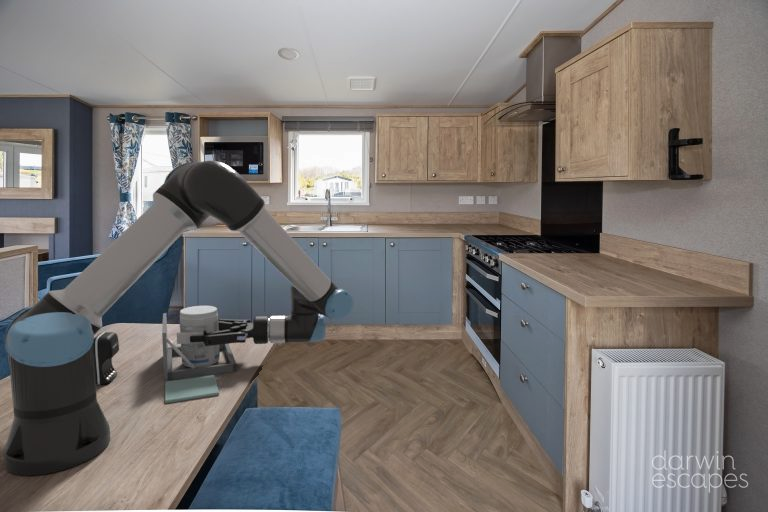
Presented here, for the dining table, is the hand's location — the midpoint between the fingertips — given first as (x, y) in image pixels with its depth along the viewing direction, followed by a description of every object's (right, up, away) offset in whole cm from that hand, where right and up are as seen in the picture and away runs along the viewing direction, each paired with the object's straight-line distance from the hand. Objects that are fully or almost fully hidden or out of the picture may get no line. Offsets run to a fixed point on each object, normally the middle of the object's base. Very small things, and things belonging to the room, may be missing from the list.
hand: (182, 332), depth 121 cm
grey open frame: (+4, -8, +2) cm, 10 cm away
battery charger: (-13, -10, -11) cm, 20 cm away
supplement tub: (+4, -9, +2) cm, 10 cm away
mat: (+9, -11, -15) cm, 21 cm away
